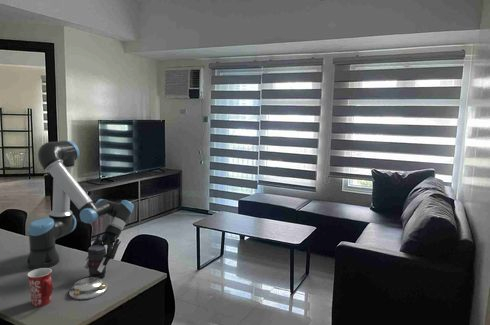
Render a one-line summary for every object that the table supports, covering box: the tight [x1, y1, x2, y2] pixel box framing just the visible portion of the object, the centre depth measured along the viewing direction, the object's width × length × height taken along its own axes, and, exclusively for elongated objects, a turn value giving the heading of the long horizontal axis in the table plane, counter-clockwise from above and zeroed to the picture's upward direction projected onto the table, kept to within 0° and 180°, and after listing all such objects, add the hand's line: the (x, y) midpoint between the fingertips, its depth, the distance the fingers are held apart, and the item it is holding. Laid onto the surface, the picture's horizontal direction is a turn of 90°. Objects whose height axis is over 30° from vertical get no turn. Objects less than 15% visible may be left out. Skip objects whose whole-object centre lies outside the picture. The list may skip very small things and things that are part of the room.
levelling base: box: [68, 277, 108, 301], centre depth 163 cm, size 16×16×4 cm
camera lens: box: [87, 245, 107, 279], centre depth 176 cm, size 8×8×15 cm
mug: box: [27, 267, 54, 307], centre depth 151 cm, size 13×9×14 cm
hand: (92, 269), depth 174 cm, fingers closed on camera lens, 8 cm apart
